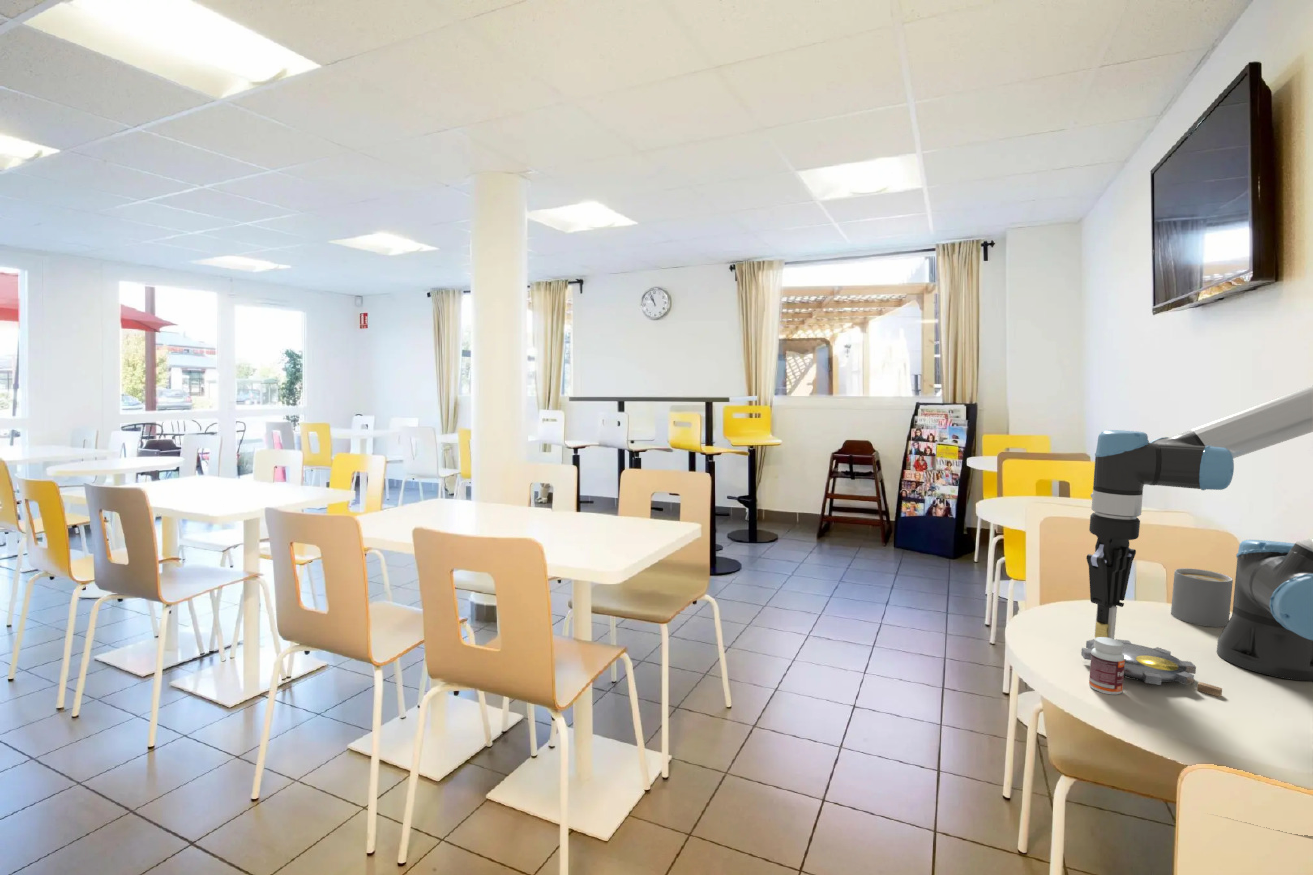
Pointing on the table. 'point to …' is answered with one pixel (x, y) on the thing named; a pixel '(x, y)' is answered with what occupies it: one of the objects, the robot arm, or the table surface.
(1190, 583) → the coffee mug
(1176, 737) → the table surface
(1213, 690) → the pointer
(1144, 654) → the disc
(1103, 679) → the pill bottle
